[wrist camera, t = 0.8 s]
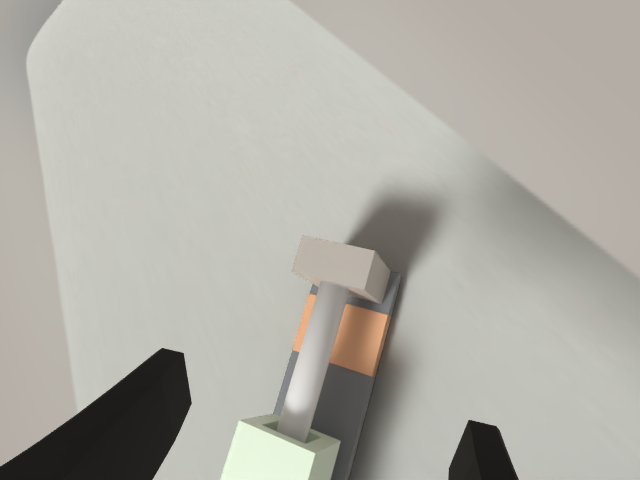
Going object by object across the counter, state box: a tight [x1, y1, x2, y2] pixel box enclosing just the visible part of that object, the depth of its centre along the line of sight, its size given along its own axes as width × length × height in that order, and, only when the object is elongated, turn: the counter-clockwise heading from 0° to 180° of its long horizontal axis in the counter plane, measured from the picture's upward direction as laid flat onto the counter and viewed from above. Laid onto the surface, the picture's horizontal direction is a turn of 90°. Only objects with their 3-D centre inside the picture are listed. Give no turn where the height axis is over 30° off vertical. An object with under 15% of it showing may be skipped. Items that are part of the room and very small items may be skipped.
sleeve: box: [220, 414, 341, 480], centre depth 21 cm, size 4×4×4 cm
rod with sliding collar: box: [273, 235, 402, 480], centre depth 22 cm, size 16×5×6 cm, turn 162°
